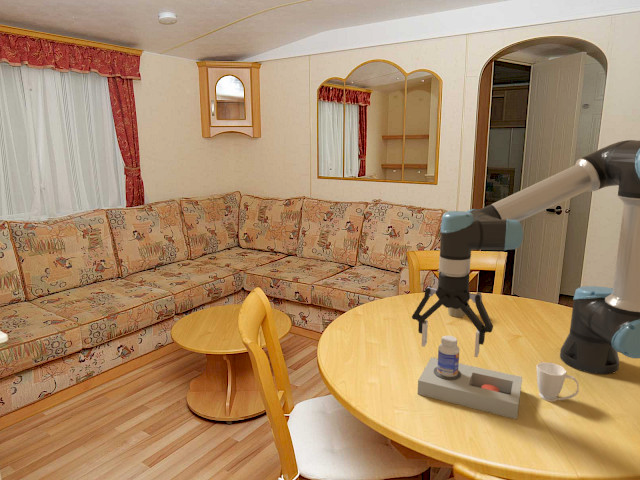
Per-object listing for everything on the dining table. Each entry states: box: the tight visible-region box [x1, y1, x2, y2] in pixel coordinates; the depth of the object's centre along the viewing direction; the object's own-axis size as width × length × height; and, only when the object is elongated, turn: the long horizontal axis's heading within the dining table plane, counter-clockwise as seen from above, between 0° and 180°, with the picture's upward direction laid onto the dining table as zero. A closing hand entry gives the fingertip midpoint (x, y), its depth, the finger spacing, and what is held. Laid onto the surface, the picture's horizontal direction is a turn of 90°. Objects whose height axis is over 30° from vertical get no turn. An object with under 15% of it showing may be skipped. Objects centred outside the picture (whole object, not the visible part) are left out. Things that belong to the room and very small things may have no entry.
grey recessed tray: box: [417, 356, 523, 420], centre depth 118 cm, size 24×14×4 cm, turn 63°
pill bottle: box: [437, 335, 460, 377], centre depth 119 cm, size 5×5×10 cm
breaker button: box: [481, 384, 499, 392], centre depth 116 cm, size 4×4×2 cm
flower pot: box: [447, 291, 472, 318], centre depth 169 cm, size 9×9×9 cm
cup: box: [535, 361, 579, 402], centre depth 115 cm, size 7×10×8 cm
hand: (449, 349), depth 119 cm, fingers open, 13 cm apart
